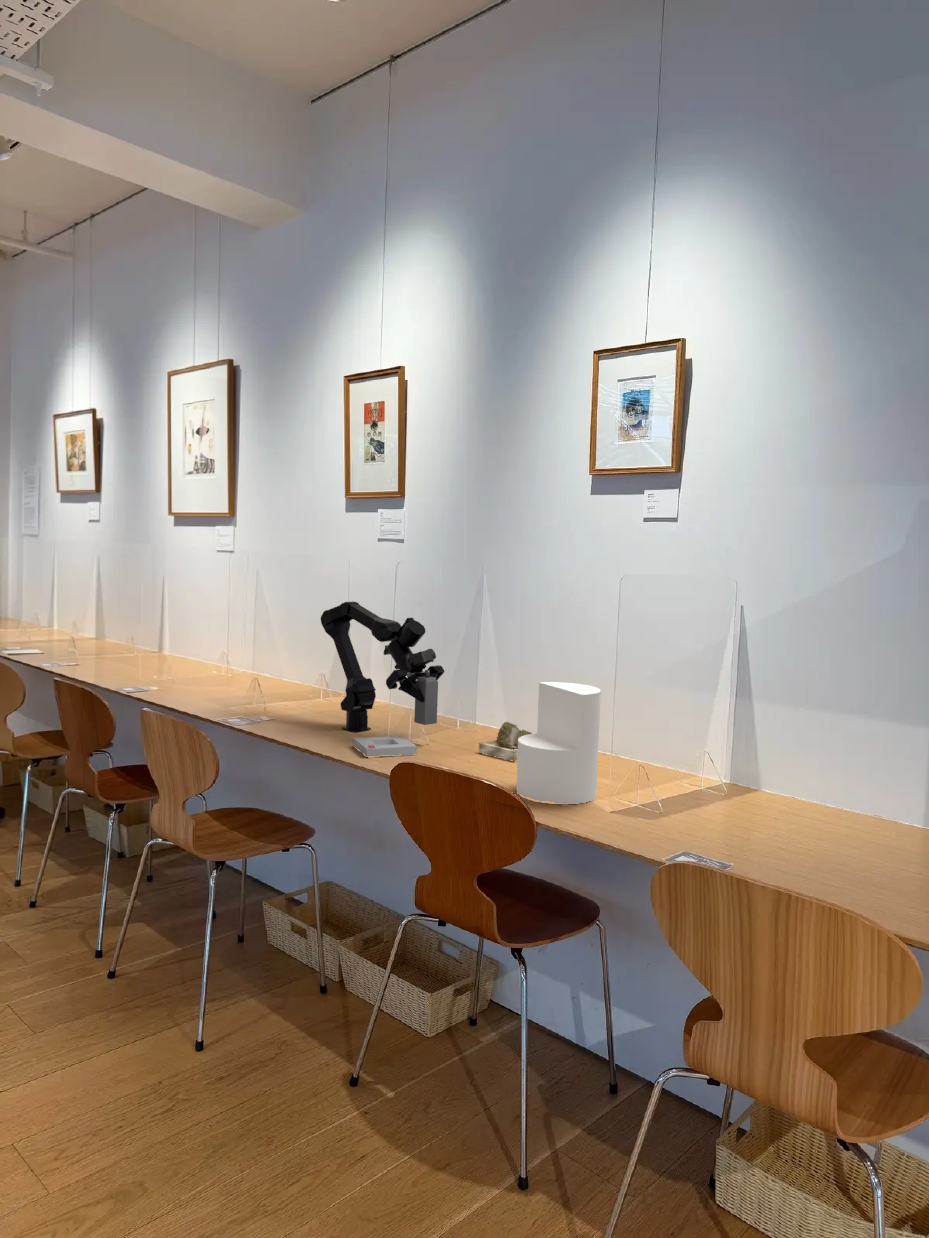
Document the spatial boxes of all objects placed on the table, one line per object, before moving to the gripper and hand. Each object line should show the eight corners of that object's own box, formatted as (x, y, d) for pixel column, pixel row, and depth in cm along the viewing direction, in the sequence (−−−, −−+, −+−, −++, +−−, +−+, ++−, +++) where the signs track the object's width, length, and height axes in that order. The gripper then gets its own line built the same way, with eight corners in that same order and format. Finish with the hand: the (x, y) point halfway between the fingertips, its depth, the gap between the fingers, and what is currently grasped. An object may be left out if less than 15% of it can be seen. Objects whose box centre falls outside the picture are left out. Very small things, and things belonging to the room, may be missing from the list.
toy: (553, 739, 252) (509, 722, 261) (542, 735, 247) (498, 718, 256) (543, 764, 252) (500, 747, 260) (532, 760, 246) (488, 742, 255)
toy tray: (478, 753, 251) (479, 743, 251) (527, 742, 266) (528, 733, 266) (514, 762, 242) (514, 751, 242) (563, 750, 257) (563, 740, 257)
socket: (353, 746, 255) (353, 736, 255) (400, 744, 260) (401, 733, 260) (366, 758, 242) (367, 747, 242) (416, 755, 247) (416, 744, 247)
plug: (414, 722, 258) (416, 669, 256) (426, 720, 261) (428, 668, 259) (424, 724, 254) (426, 671, 253) (436, 723, 257) (438, 670, 256)
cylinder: (572, 780, 225) (576, 681, 223) (611, 801, 208) (616, 693, 206) (503, 786, 218) (506, 683, 216) (537, 808, 201) (541, 696, 199)
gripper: (393, 641, 251) (420, 686, 245) (441, 637, 265) (467, 680, 258) (374, 666, 257) (399, 710, 251) (421, 661, 271) (446, 703, 264)
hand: (429, 700), depth 256 cm, fingers closed on plug, 5 cm apart
